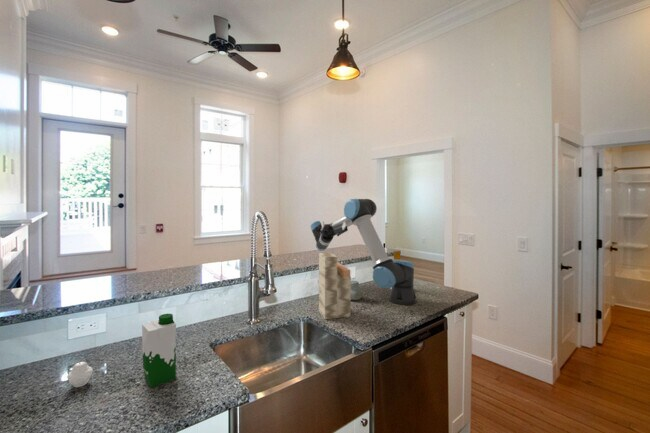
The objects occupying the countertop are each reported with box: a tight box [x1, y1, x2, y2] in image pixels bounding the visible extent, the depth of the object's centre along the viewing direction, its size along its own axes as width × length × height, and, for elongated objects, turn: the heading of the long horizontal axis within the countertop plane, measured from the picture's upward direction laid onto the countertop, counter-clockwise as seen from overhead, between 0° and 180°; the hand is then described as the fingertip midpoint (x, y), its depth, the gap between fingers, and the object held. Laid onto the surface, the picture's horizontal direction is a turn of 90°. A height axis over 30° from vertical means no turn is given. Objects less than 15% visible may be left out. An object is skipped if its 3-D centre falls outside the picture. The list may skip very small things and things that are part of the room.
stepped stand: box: [318, 252, 352, 320], centre depth 155 cm, size 13×12×30 cm
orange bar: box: [337, 261, 351, 277], centre depth 157 cm, size 3×22×3 cm, turn 15°
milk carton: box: [141, 313, 177, 389], centre depth 98 cm, size 9×9×20 cm
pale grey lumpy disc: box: [66, 361, 94, 388], centre depth 95 cm, size 6×6×7 cm
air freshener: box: [351, 280, 364, 301], centre depth 178 cm, size 11×8×10 cm
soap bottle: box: [389, 250, 401, 290], centre depth 198 cm, size 9×9×25 cm
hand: (334, 223), depth 178 cm, fingers open, 13 cm apart
